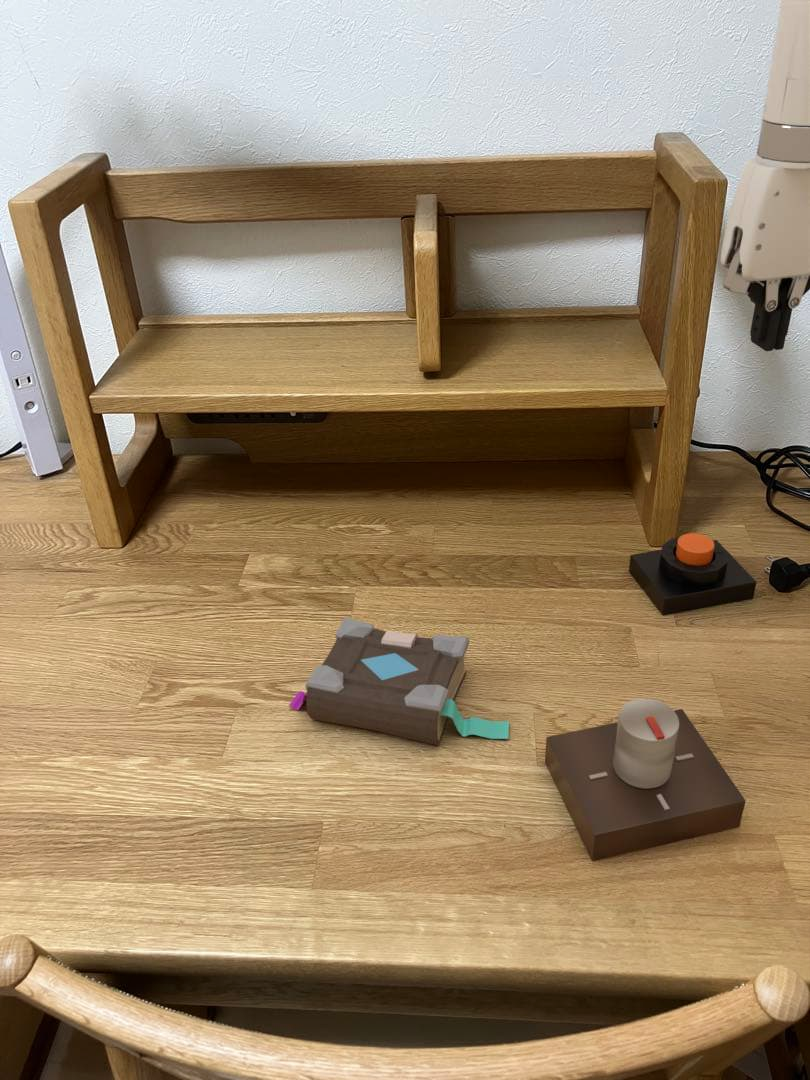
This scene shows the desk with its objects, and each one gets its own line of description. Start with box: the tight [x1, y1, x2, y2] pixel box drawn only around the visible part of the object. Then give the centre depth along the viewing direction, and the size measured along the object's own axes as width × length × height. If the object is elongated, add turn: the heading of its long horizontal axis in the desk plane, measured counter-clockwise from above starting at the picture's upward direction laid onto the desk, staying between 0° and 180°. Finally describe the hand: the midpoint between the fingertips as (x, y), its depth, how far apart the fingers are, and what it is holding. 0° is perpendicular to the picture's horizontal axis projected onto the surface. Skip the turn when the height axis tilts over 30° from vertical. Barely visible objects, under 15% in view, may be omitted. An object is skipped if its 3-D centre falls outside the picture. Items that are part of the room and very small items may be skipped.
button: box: [676, 532, 715, 566], centre depth 91 cm, size 4×4×2 cm
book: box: [288, 616, 510, 747], centre depth 81 cm, size 20×12×5 cm, turn 72°
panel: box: [544, 708, 747, 862], centre depth 71 cm, size 12×10×3 cm
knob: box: [613, 698, 679, 789], centre depth 68 cm, size 4×4×6 cm
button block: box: [628, 536, 757, 617], centre depth 93 cm, size 10×8×4 cm
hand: (766, 345), depth 87 cm, fingers closed
